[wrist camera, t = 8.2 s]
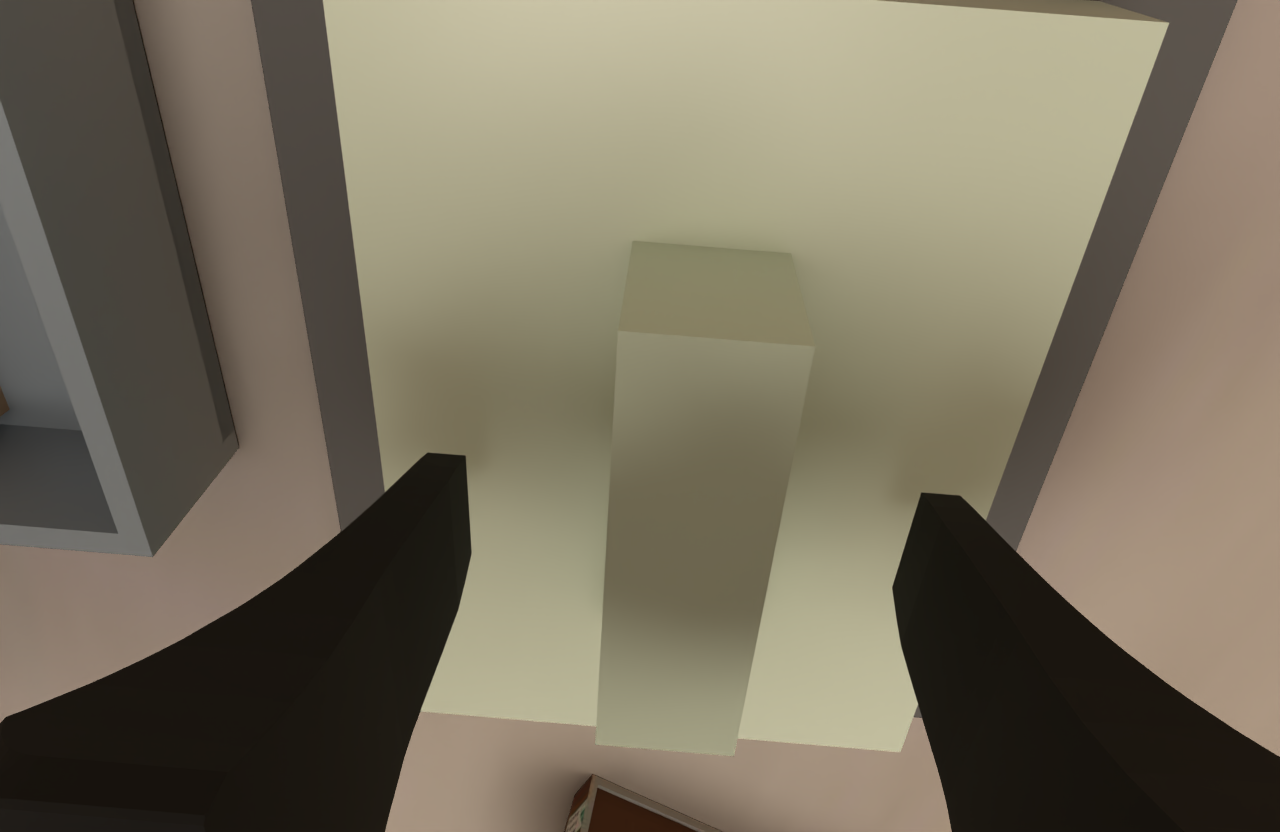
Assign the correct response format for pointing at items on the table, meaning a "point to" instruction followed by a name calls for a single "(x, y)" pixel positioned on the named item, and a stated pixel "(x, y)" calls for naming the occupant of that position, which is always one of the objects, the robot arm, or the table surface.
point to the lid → (714, 323)
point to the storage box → (96, 294)
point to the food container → (624, 812)
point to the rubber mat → (331, 289)
